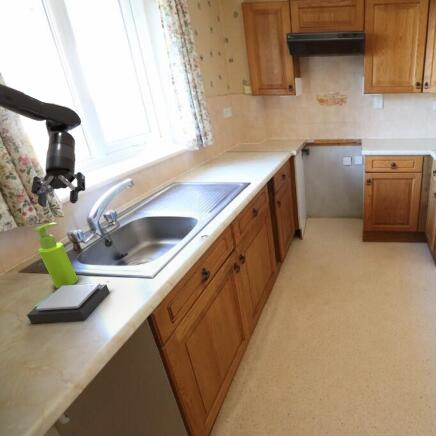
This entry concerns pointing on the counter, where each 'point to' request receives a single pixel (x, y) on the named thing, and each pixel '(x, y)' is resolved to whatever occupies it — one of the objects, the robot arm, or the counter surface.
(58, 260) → the soap dispenser
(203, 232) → the counter surface
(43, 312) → the kitchen scale
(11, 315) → the counter surface
